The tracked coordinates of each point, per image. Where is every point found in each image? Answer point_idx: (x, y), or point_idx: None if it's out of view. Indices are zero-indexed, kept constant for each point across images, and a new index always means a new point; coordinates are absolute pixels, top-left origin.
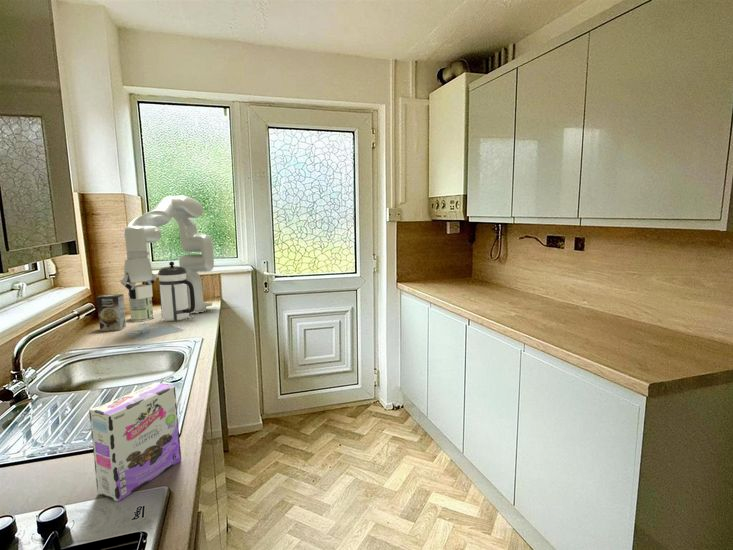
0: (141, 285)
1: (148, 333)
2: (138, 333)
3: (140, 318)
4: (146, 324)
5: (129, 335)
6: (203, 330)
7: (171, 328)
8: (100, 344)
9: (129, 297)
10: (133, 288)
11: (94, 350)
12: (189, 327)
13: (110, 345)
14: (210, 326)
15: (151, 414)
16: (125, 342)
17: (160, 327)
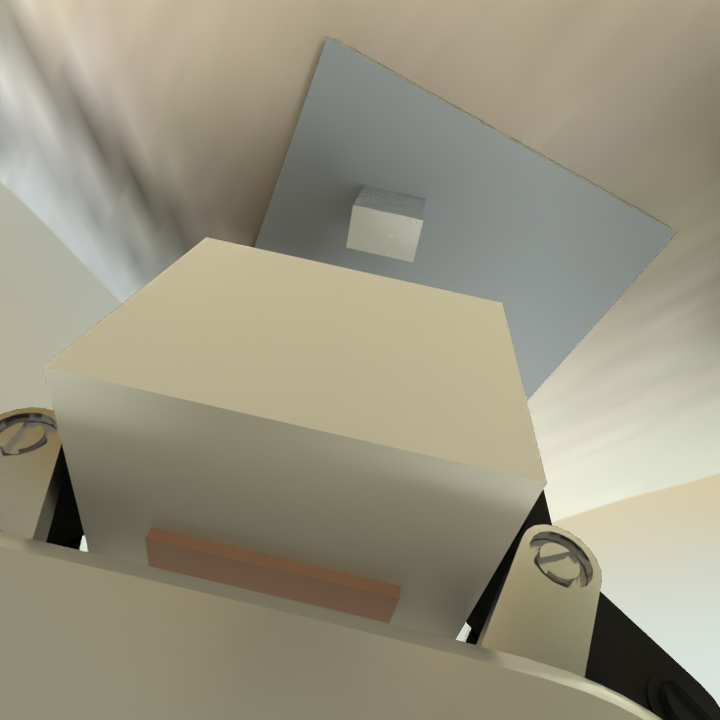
0: (292, 597)
1: (376, 262)
2: (358, 178)
3: None
4: (391, 256)
5: (290, 150)
6: (570, 479)
7: (533, 332)
8: (109, 21)
9: (200, 251)
10: (79, 536)
11: (25, 128)
12: (658, 368)
13: (136, 140)
14: (675, 474)
15: None
16: (226, 190)
17: (562, 223)
